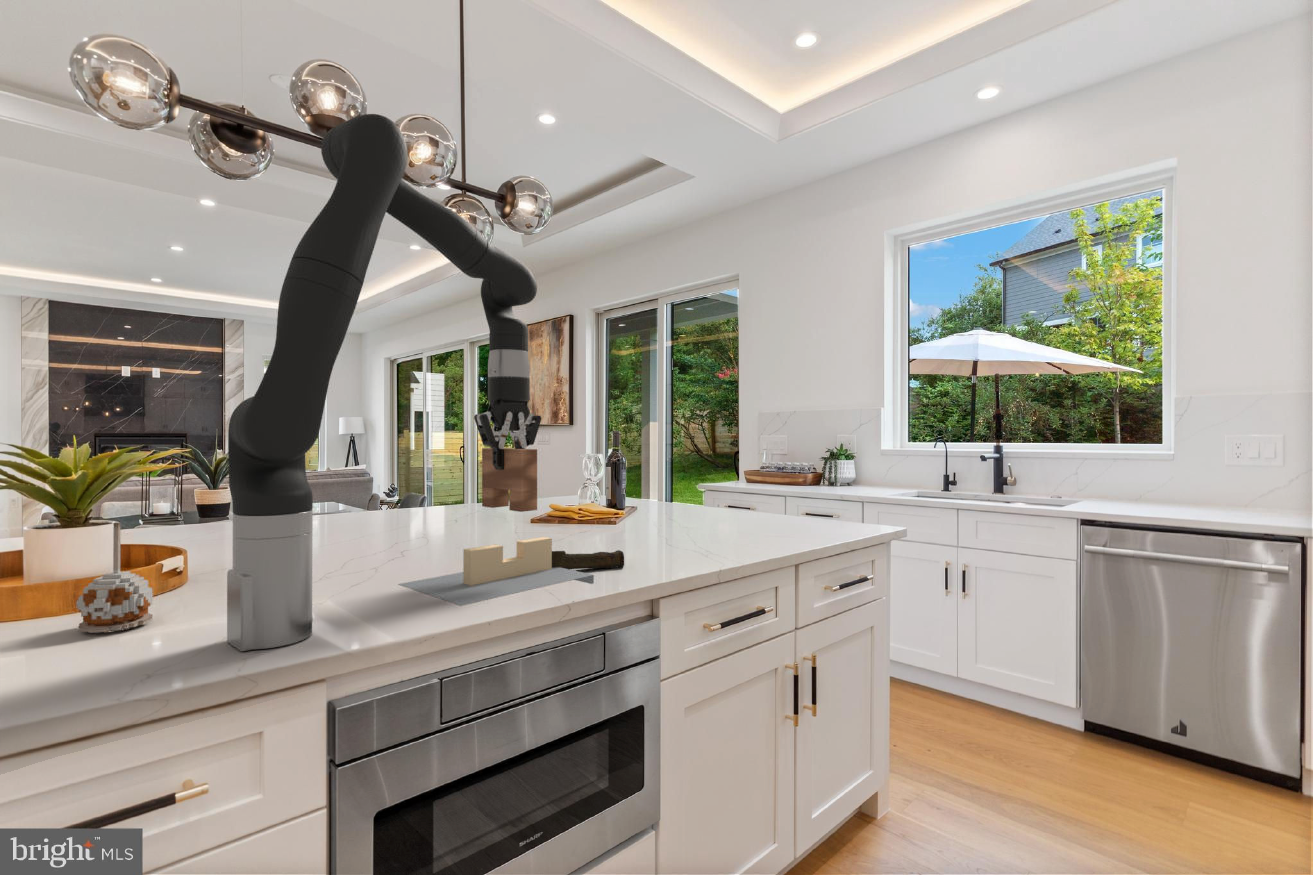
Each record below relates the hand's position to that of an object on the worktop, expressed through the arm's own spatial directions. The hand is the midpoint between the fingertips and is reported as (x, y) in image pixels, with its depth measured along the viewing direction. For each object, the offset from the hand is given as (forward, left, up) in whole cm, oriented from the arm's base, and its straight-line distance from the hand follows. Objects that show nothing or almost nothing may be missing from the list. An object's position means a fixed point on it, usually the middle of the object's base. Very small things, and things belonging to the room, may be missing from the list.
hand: (509, 468), depth 115 cm
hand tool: (+16, -2, -22) cm, 27 cm away
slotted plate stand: (-3, -1, -21) cm, 22 cm away
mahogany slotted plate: (0, 0, -7) cm, 7 cm away
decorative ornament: (-53, +20, -22) cm, 60 cm away
